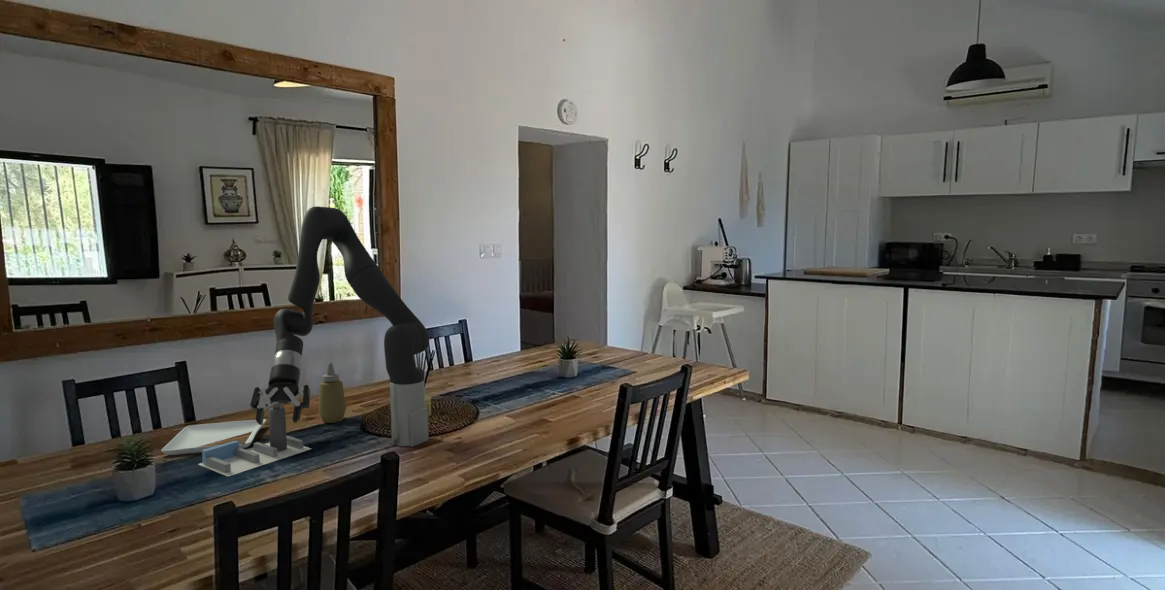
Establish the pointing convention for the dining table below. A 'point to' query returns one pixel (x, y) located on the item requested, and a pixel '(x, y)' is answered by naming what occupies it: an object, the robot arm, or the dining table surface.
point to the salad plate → (210, 436)
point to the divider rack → (246, 456)
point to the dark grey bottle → (277, 427)
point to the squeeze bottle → (331, 397)
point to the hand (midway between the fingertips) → (277, 422)
